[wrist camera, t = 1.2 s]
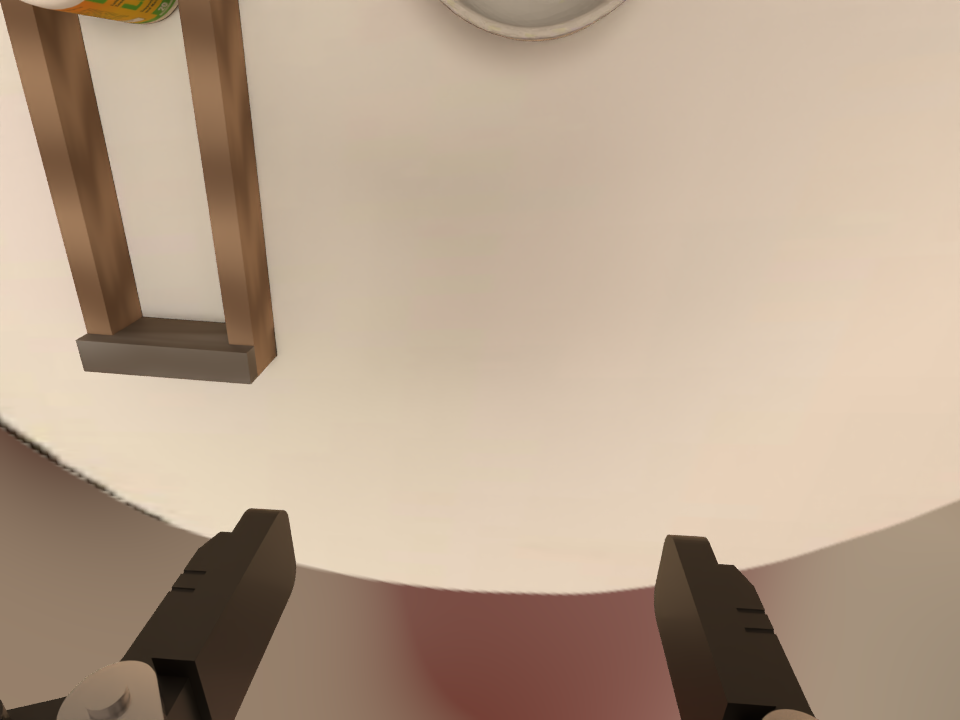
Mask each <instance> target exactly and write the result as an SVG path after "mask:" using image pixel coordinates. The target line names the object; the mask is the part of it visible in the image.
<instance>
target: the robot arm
mask: <svg viewBox="0 0 960 720" xmlns="http://www.w3.org/2000/svg"><path fill="white" fill-rule="evenodd" d="M295 575H296V561H295V555H294V548H293V542H292V536H291V530H290V523H289V518H288V514H287V512H286V511H284V510H270V509H253V508H251V509H248V510H247V511H246V512H245V513H244V514H243V516H242V517H241V519H240V521H239V522H238V524H237V525H236V527H235V528H234V530H233V531H232V532H219V533H218V534H217V535H216V536H214V537H213V538H212V539H210V540H209V541H208V542H207V543H205V544H204V545H203V546H202V547H200V548H199V549H198V550H197V552H196V553H195V555H194V556H193V558H192V559H191V560H190V562H189V563H188V565H187V566H186V568H185V569H184V573H183V574H181V575H180V576H179V578H178V579H177V581H176V582H175V583H174V585H173V586H172V591H171V592H170V591H169V592H168V593H167V595H166V597H165V598H164V600H163V601H162V602H161V604H160V605H159V606H158V608H157V609H156V611H155V612H154V614H153V615H152V617H151V618H150V620H149V621H148V622H147V624H146V625H145V627H144V628H143V630H142V631H141V632H140V634H139V635H138V637H137V638H136V640H135V641H134V643H133V644H132V645H131V647H130V648H129V650H128V651H127V653H126V654H125V655H124V657H123V658H122V659H121V661H120V662H118V663H113V664H111V665H108V666H106V667H103V668H101V669H99V670H97V671H96V672H94V673H92V674H91V675H89V676H88V677H86V678H85V679H84V680H82V681H81V682H80V683H79V684H78V685H77V686H76V687H75V688H74V689H73V690H72V691H71V692H70V693H69V694H68V696H66V697H63V698H59V699H55V700H51V701H46V702H41V703H37V704H33V705H29V706H24V707H19V708H15V709H11V710H6V709H5V707H4V705H3V703H2V701H1V700H0V720H234V719H235V717H236V715H237V712H238V710H239V708H240V706H241V703H242V701H243V699H244V696H245V695H246V692H247V690H248V688H249V686H250V684H251V681H252V679H253V677H254V675H255V672H256V670H257V668H258V666H259V664H260V661H261V659H262V657H263V655H264V653H265V650H266V648H267V646H268V644H269V641H270V639H271V637H272V635H273V633H274V630H275V628H276V626H277V624H278V622H279V619H280V617H281V615H282V613H283V610H284V608H285V606H286V604H287V601H288V599H289V597H290V595H291V592H292V589H293V586H294V581H295ZM654 608H655V616H656V621H657V625H658V629H659V633H660V637H661V641H662V645H663V649H664V653H665V657H666V661H667V665H668V669H669V673H670V677H671V681H672V685H673V688H674V693H675V697H676V701H677V705H678V709H679V713H680V716H681V720H818V719H816V718H815V716H814V714H813V712H812V711H811V709H810V707H809V705H808V702H807V700H806V698H805V696H804V694H803V692H802V690H801V687H800V685H799V683H798V681H797V678H796V676H795V674H794V672H793V670H792V668H791V666H790V663H789V661H788V659H787V657H786V655H785V653H784V650H783V648H782V646H781V644H780V642H779V640H778V637H777V636H776V635H775V634H774V629H773V627H772V625H771V622H770V620H769V618H768V616H767V615H766V614H765V612H764V611H765V610H764V608H763V605H762V603H761V601H760V599H759V596H758V594H757V592H756V590H755V588H754V586H753V585H752V584H751V583H750V582H749V581H748V580H747V579H746V577H745V576H744V575H742V573H741V572H740V571H739V570H738V569H737V568H736V567H735V566H734V565H724V564H718V562H717V560H716V557H715V555H714V553H713V550H712V548H711V545H710V543H709V541H708V540H707V538H706V537H698V536H681V535H667V537H666V539H665V542H664V546H663V551H662V556H661V561H660V566H659V570H658V575H657V580H656V585H655V591H654Z"/></svg>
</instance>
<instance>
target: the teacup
mask: <svg viewBox="0 0 960 720" xmlns="http://www.w3.org/2000/svg"><path fill="white" fill-rule="evenodd" d="M440 1H441V2H442V3H443V4H445V5H446V6H447V7H448V8H449V9H450V10H451V11H452V12H453V13H455V14H456V15H458V16H459V17H461V18H462V19H464V20H465V21H467V22H469V23H471V24H473V25H475V26H476V27H478V28H481V29H483V30H486V31H488V32H490V33H493V34H496V35H500V36H503V37H506V38H510V39H515V40H522V41H544V40H552V39H557V38H561V37H565V36H568V35H571V34H573V33H576V32H578V31H580V30H582V29H585V28H586V27H588V26H590V25H591V24H593V23H595V22H597V21H598V20H599V19H601V18H603V17H604V16H606V15H607V14H609V13H610V12H611V11H613V10H614V9H616V8H617V7H618V6H620V5H621V4H622V3H623V2H624V1H625V0H440Z"/></svg>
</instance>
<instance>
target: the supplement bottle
mask: <svg viewBox="0 0 960 720" xmlns="http://www.w3.org/2000/svg"><path fill="white" fill-rule="evenodd" d="M21 1H23V2H25V3H28V4H31V5H34V6H38V7H42V8H46V9H52V10H57V11H63V12H68V13H75V14H81V15H87V16H93V17H99V18H105V19H111V20H117V21H122V22H128V23H136V24H149V23H154V22H157V21H160V20H162V19H164V18H166V17H167V16H168V15H170V14H171V13H172V12H173V11H174V9H175V8H176V7H177V5H178V0H21Z"/></svg>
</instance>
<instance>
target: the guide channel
mask: <svg viewBox="0 0 960 720" xmlns="http://www.w3.org/2000/svg"><path fill="white" fill-rule="evenodd" d="M0 2H1V6H2V10H3V14H4V18H5V21H6V25H7V29H8V33H9V37H10V40H11V44H12V48H13V52H14V56H15V59H16V63H17V67H18V71H19V75H20V78H21V82H22V86H23V90H24V94H25V97H26V101H27V105H28V109H29V113H30V116H31V120H32V124H33V128H34V132H35V135H36V139H37V143H38V147H39V151H40V154H41V158H42V162H43V166H44V170H45V173H46V177H47V181H48V185H49V189H50V192H51V196H52V200H53V204H54V208H55V211H56V215H57V219H58V223H59V227H60V230H61V234H62V238H63V242H64V246H65V249H66V253H67V257H68V261H69V265H70V268H71V272H72V276H73V280H74V284H75V287H76V291H77V295H78V299H79V303H80V306H81V310H82V314H83V318H84V322H85V325H86V329H87V333H88V334H86V335H84V336H82V337H81V338H79V339H77V340H76V343H77V346H78V350H79V354H80V357H81V361H82V365H83V368H84V371H88V372H101V373H114V374H126V375H139V376H152V377H165V378H178V379H191V380H203V381H216V382H229V383H242V384H252V382H253V381H254V380H255V379H256V378H257V377H258V376H259V375H260V374H261V373H262V371H263V370H264V369H265V368H266V367H267V366H268V365H269V364H270V363H271V361H272V360H273V359H274V358H275V357H276V356H277V351H276V342H275V333H274V324H273V314H272V305H271V296H270V287H269V278H268V269H267V260H266V251H265V242H264V233H263V223H262V214H261V205H260V196H259V187H258V178H257V169H256V160H255V151H254V142H253V132H252V123H251V114H250V105H249V96H248V87H247V78H246V69H245V60H244V51H243V42H242V32H241V23H240V14H239V5H238V0H178V5H179V12H180V19H181V25H182V32H183V39H184V46H185V52H186V59H187V66H188V73H189V79H190V86H191V93H192V99H193V106H194V113H195V120H196V126H197V133H198V140H199V146H200V153H201V160H202V167H203V173H204V180H205V187H206V194H207V200H208V207H209V214H210V220H211V227H212V234H213V241H214V247H215V254H216V261H217V268H218V274H219V281H220V288H221V294H222V301H223V308H224V315H225V321H226V323H217V322H203V321H190V320H177V319H163V318H150V317H142V312H141V308H140V303H139V298H138V294H137V289H136V285H135V280H134V275H133V271H132V266H131V261H130V257H129V252H128V247H127V243H126V238H125V233H124V229H123V224H122V219H121V215H120V210H119V206H118V201H117V196H116V192H115V187H114V182H113V178H112V173H111V168H110V164H109V159H108V154H107V150H106V145H105V141H104V136H103V131H102V127H101V122H100V117H99V113H98V108H97V103H96V99H95V94H94V89H93V85H92V80H91V76H90V71H89V66H88V62H87V57H86V52H85V48H84V43H83V38H82V34H81V29H80V24H79V20H78V15H77V14H75V13H68V12H63V11H57V10H52V9H46V8H42V7H38V6H34V5H31V4H28V3H25V2H23V1H21V0H0Z"/></svg>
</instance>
